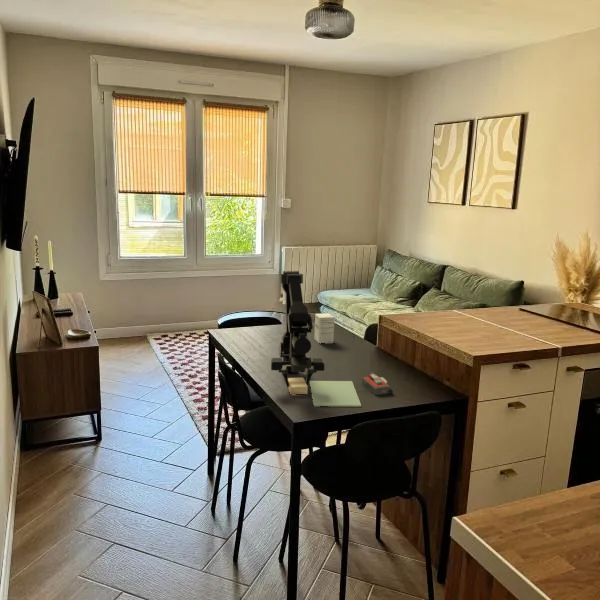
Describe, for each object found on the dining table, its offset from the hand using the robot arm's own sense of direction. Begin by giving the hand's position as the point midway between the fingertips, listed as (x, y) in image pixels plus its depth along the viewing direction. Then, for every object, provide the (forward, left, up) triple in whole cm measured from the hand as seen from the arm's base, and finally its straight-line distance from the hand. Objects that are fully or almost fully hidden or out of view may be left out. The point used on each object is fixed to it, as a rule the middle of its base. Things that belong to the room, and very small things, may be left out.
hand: (297, 386), depth 192 cm
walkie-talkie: (-6, +29, -2) cm, 30 cm away
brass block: (0, 0, -1) cm, 1 cm away
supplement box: (-60, +15, -2) cm, 62 cm away
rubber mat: (+3, +13, -1) cm, 13 cm away
